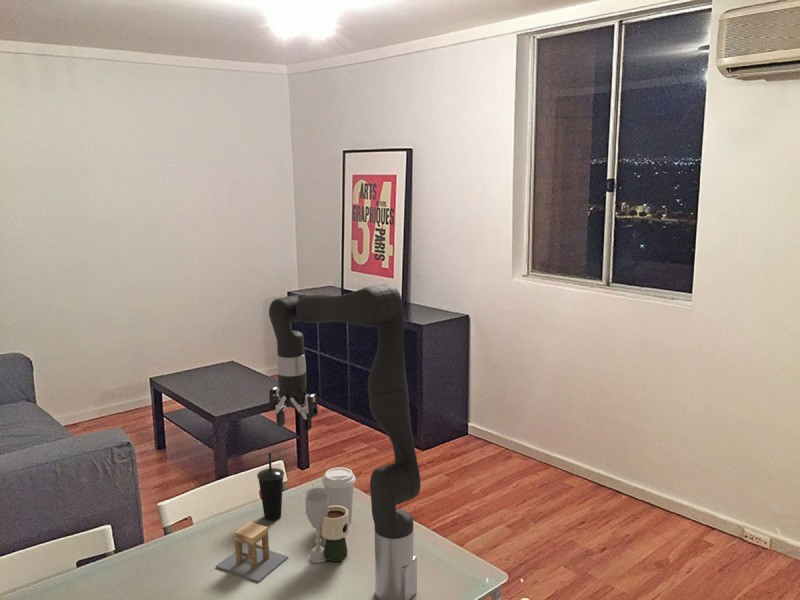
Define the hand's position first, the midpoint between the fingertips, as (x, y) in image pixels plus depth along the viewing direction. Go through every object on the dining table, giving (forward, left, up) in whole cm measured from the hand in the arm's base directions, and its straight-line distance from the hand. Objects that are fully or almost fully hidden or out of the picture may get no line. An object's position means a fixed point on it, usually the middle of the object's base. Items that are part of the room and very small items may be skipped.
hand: (294, 428), depth 185 cm
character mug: (-15, +4, -32) cm, 36 cm away
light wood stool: (+3, +16, -32) cm, 36 cm away
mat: (+3, +16, -32) cm, 36 cm away
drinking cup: (+13, -5, -32) cm, 35 cm away
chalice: (-11, +6, -32) cm, 35 cm away
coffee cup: (-6, -12, -32) cm, 35 cm away
